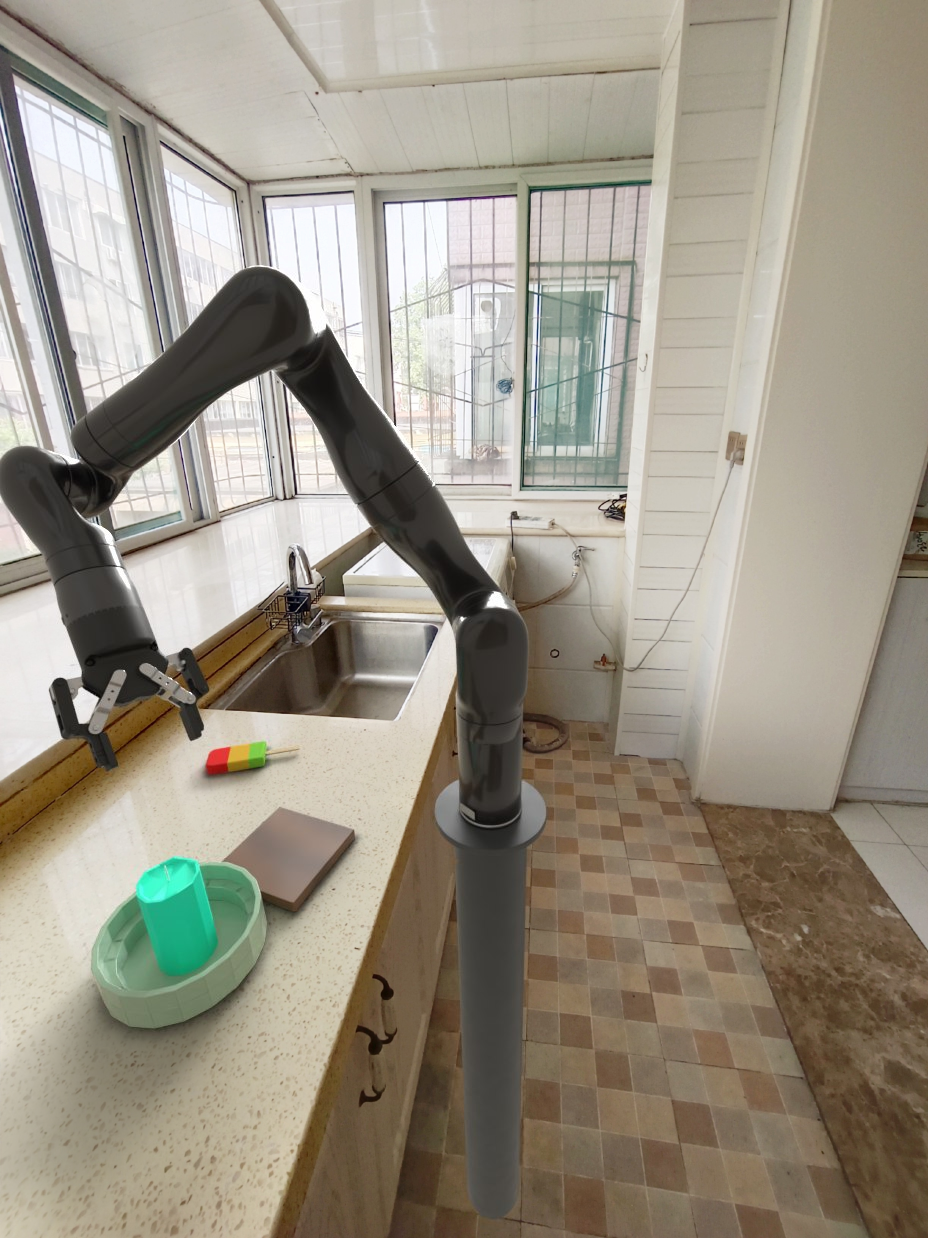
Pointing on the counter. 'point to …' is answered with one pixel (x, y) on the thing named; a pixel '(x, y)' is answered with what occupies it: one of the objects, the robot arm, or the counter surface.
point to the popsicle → (240, 757)
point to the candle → (177, 915)
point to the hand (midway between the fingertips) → (157, 753)
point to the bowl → (168, 999)
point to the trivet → (291, 855)
